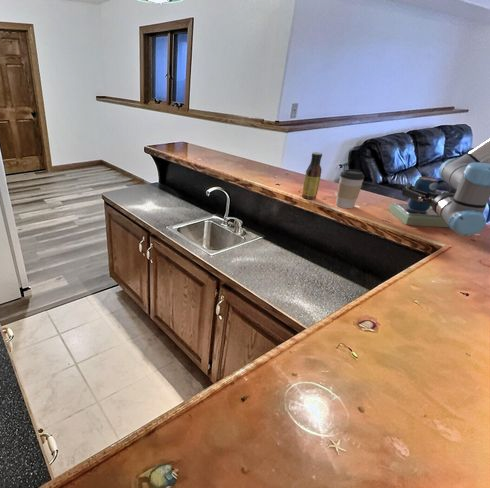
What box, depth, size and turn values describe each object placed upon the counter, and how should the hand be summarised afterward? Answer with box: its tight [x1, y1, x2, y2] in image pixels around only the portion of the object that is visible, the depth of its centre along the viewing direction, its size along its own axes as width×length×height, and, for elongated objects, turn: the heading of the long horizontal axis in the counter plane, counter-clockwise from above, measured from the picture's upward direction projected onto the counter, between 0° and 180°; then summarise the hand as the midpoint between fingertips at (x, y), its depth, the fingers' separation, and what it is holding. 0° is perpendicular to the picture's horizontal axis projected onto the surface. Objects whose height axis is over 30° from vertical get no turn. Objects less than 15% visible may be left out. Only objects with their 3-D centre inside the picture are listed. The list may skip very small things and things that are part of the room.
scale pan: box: [395, 202, 440, 217], centre depth 134 cm, size 11×11×1 cm
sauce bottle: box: [301, 151, 323, 200], centre depth 152 cm, size 7×6×20 cm
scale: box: [388, 203, 449, 228], centre depth 135 cm, size 15×15×3 cm
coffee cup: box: [335, 168, 365, 209], centre depth 144 cm, size 9×9×15 cm
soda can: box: [407, 176, 439, 212], centre depth 131 cm, size 7×7×12 cm
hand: (428, 188), depth 128 cm, fingers open, 13 cm apart
